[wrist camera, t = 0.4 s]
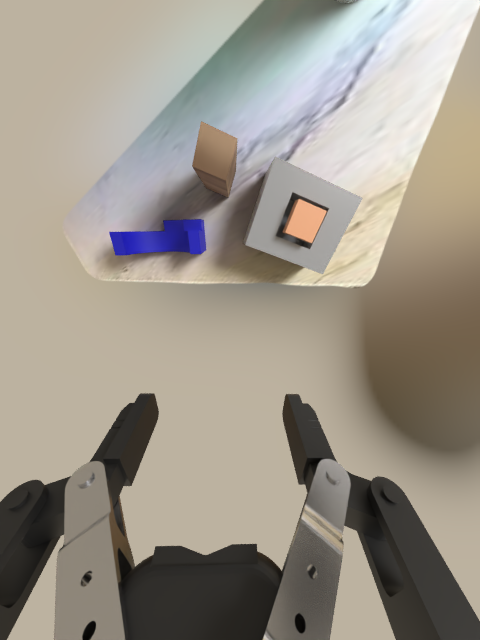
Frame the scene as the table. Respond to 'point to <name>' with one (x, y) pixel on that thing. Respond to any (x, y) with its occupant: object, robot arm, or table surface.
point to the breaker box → (277, 204)
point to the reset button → (304, 221)
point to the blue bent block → (163, 239)
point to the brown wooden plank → (215, 159)
